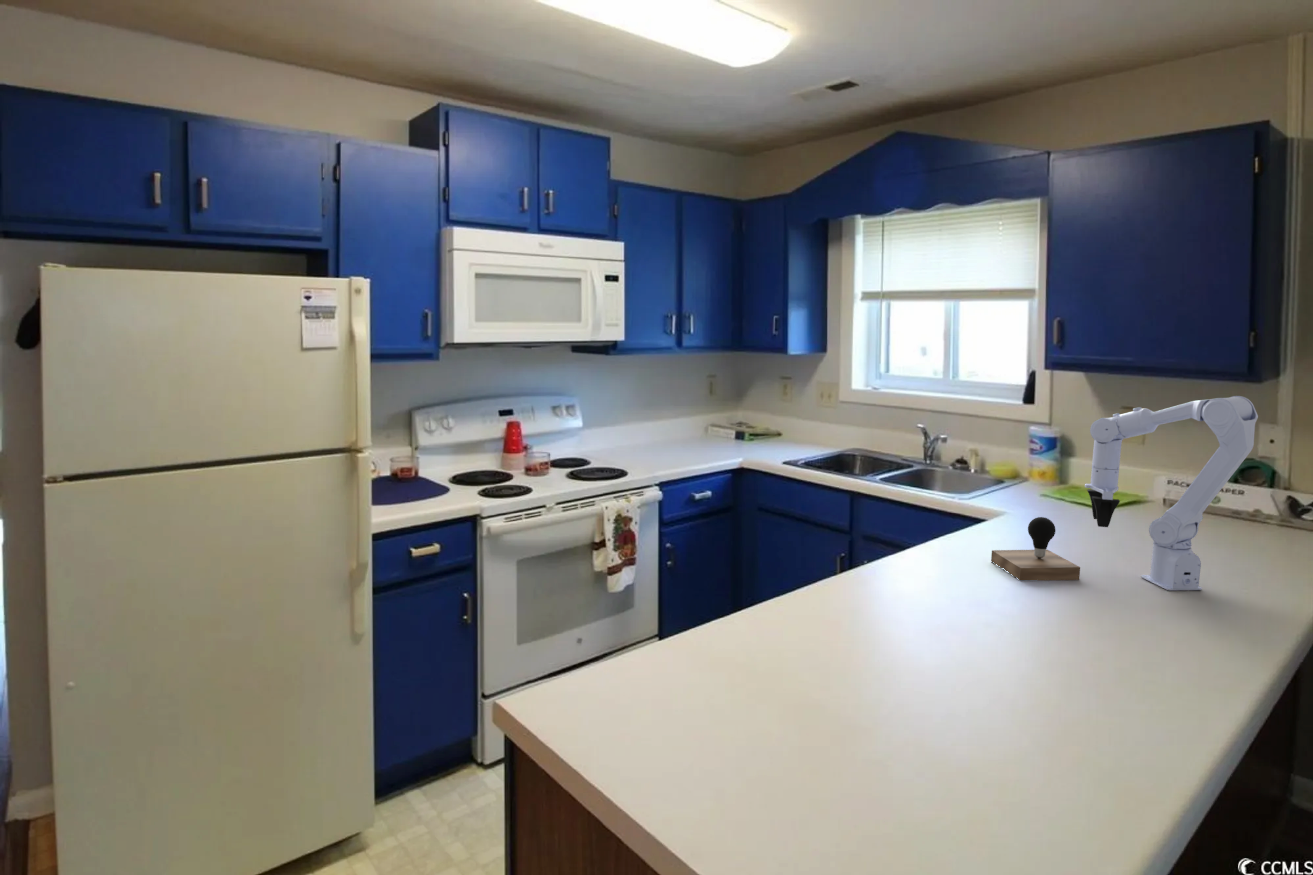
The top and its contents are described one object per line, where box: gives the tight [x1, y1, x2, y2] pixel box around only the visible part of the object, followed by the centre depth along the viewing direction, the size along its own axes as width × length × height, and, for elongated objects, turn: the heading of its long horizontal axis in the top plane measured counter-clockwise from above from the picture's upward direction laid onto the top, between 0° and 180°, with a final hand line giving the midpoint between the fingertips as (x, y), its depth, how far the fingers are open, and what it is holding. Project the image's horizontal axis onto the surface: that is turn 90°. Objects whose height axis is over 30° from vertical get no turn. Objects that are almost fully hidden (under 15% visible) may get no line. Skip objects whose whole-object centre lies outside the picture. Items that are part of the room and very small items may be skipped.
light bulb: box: [1027, 516, 1056, 559], centre depth 187 cm, size 6×6×10 cm
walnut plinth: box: [990, 549, 1081, 581], centre depth 189 cm, size 14×14×3 cm
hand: (1100, 522), depth 192 cm, fingers open, 7 cm apart
